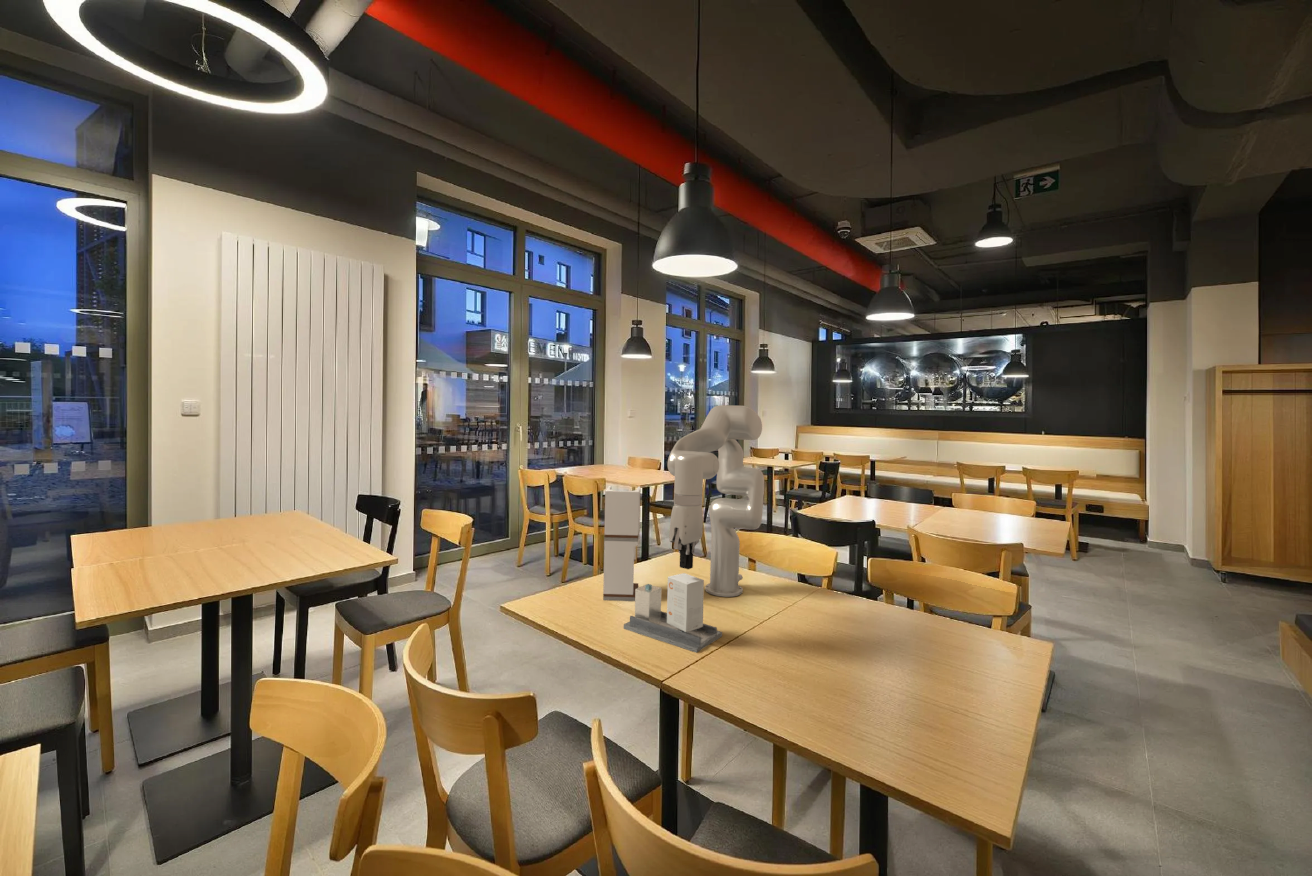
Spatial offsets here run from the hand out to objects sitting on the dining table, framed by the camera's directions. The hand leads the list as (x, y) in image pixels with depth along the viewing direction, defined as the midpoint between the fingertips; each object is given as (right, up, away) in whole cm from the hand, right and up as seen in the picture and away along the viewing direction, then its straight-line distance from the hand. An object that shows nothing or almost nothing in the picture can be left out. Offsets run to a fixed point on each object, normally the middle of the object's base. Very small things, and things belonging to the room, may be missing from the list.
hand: (686, 567), depth 151 cm
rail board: (-4, -19, +4) cm, 19 cm away
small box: (0, -16, +1) cm, 16 cm away
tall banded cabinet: (-20, -17, +33) cm, 42 cm away
